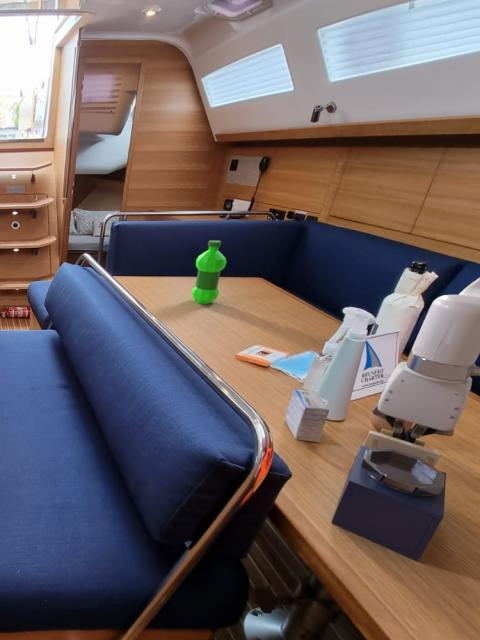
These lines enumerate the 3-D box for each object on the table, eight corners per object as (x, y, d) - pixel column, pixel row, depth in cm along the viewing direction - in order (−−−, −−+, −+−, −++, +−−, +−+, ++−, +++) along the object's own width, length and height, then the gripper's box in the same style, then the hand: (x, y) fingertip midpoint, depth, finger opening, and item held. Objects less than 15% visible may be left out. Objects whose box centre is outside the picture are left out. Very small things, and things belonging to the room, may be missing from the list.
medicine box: (318, 443, 90) (331, 410, 87) (294, 439, 92) (305, 407, 88) (306, 422, 97) (317, 391, 93) (283, 419, 98) (293, 388, 95)
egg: (359, 424, 95) (371, 393, 92) (392, 426, 94) (406, 395, 91) (377, 442, 90) (391, 410, 86) (413, 444, 88) (429, 412, 85)
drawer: (361, 447, 87) (374, 417, 84) (425, 469, 81) (442, 436, 77) (346, 492, 76) (360, 459, 73) (418, 521, 70) (438, 486, 67)
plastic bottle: (211, 297, 176) (223, 238, 166) (221, 306, 167) (234, 244, 156) (186, 297, 178) (196, 239, 168) (194, 306, 168) (205, 244, 158)
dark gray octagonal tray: (364, 450, 74) (369, 441, 73) (439, 476, 68) (445, 466, 67) (356, 477, 68) (360, 467, 67) (437, 507, 62) (443, 497, 61)
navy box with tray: (344, 484, 79) (361, 444, 75) (423, 515, 72) (446, 472, 68) (331, 523, 72) (349, 480, 68) (417, 561, 65) (443, 516, 61)
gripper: (502, 371, 70) (455, 457, 77) (382, 346, 80) (350, 424, 88) (505, 388, 65) (454, 478, 73) (376, 360, 75) (344, 441, 83)
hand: (398, 449), depth 80 cm, fingers closed
